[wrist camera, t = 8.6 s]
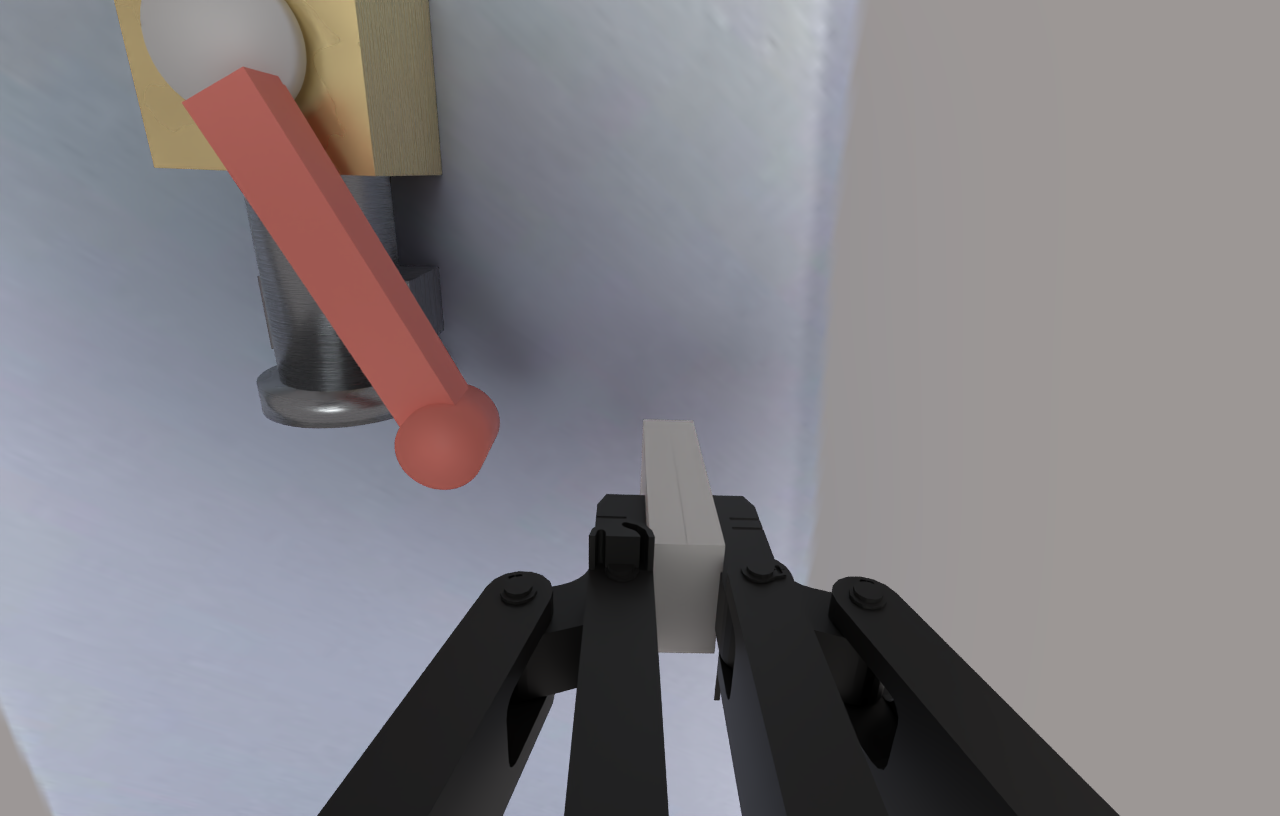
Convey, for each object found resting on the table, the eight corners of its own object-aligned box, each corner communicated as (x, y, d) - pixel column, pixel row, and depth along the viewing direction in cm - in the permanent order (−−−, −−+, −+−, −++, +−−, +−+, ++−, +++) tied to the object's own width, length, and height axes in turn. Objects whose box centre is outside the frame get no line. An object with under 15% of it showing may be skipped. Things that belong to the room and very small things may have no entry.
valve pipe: (193, -343, 20) (-34, -612, 13) (402, -329, 21) (286, -587, 14) (314, 367, 30) (217, 427, 23) (457, 371, 30) (405, 432, 23)
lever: (136, 6, 17) (30, -29, 14) (248, -64, 17) (164, -117, 14) (439, 463, 23) (409, 508, 20) (531, 422, 22) (515, 462, 19)
